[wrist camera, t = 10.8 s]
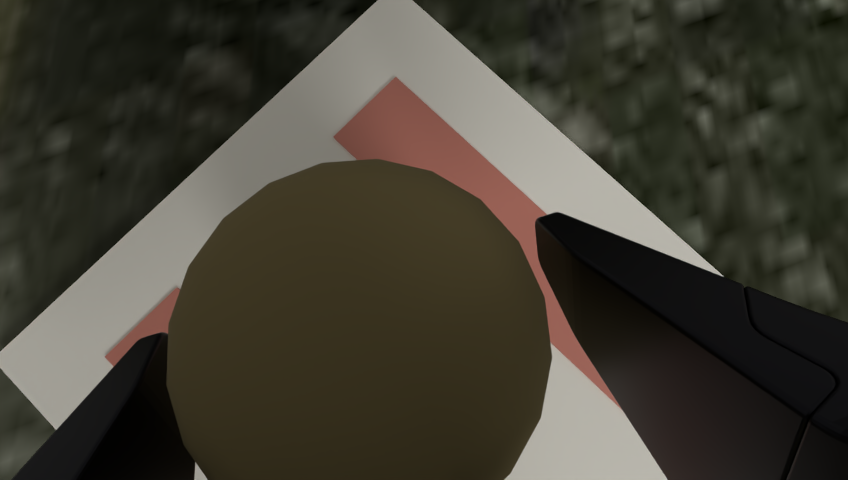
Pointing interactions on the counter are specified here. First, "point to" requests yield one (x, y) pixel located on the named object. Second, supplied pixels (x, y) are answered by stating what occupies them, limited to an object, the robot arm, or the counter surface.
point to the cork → (359, 333)
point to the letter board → (360, 140)
